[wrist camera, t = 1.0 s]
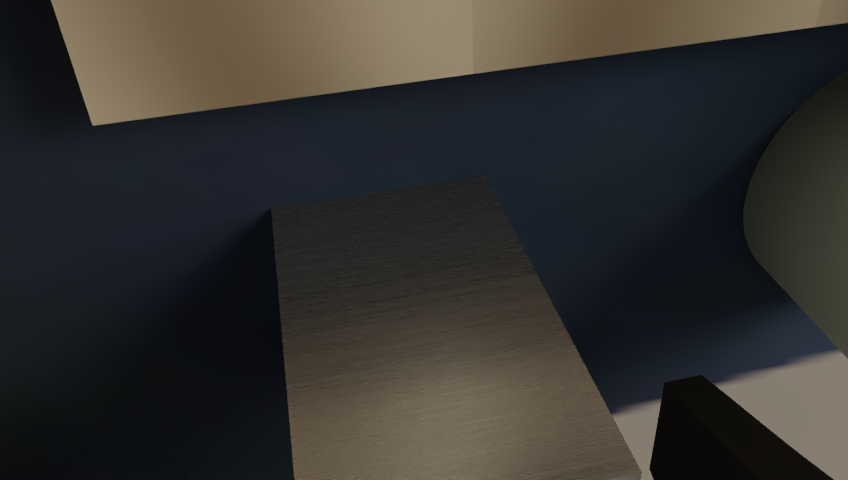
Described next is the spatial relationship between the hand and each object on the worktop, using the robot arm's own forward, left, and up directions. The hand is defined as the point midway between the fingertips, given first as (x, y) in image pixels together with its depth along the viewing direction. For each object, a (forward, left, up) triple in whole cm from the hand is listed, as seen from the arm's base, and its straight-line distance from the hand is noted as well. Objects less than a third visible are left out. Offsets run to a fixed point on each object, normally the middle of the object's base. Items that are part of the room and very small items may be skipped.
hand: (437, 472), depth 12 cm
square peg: (0, 0, -5) cm, 5 cm away
